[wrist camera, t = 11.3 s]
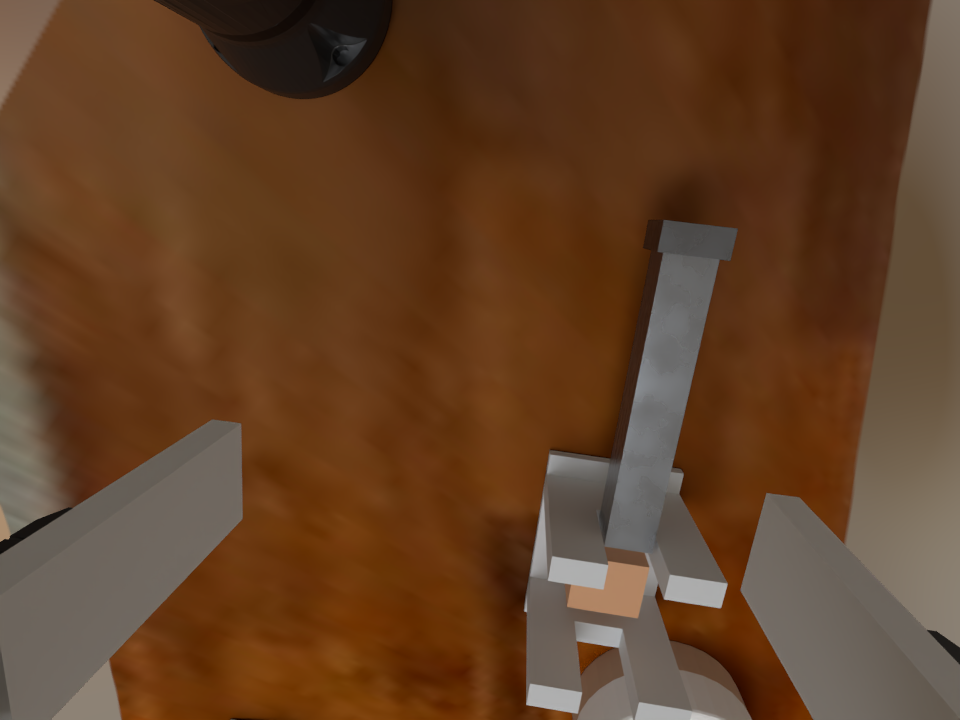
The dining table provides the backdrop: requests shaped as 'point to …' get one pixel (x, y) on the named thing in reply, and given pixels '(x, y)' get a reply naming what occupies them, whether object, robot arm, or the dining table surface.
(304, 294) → the dining table surface
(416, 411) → the dining table surface
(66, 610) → the robot arm
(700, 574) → the bracket
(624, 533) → the shaft
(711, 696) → the bowl
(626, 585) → the block
